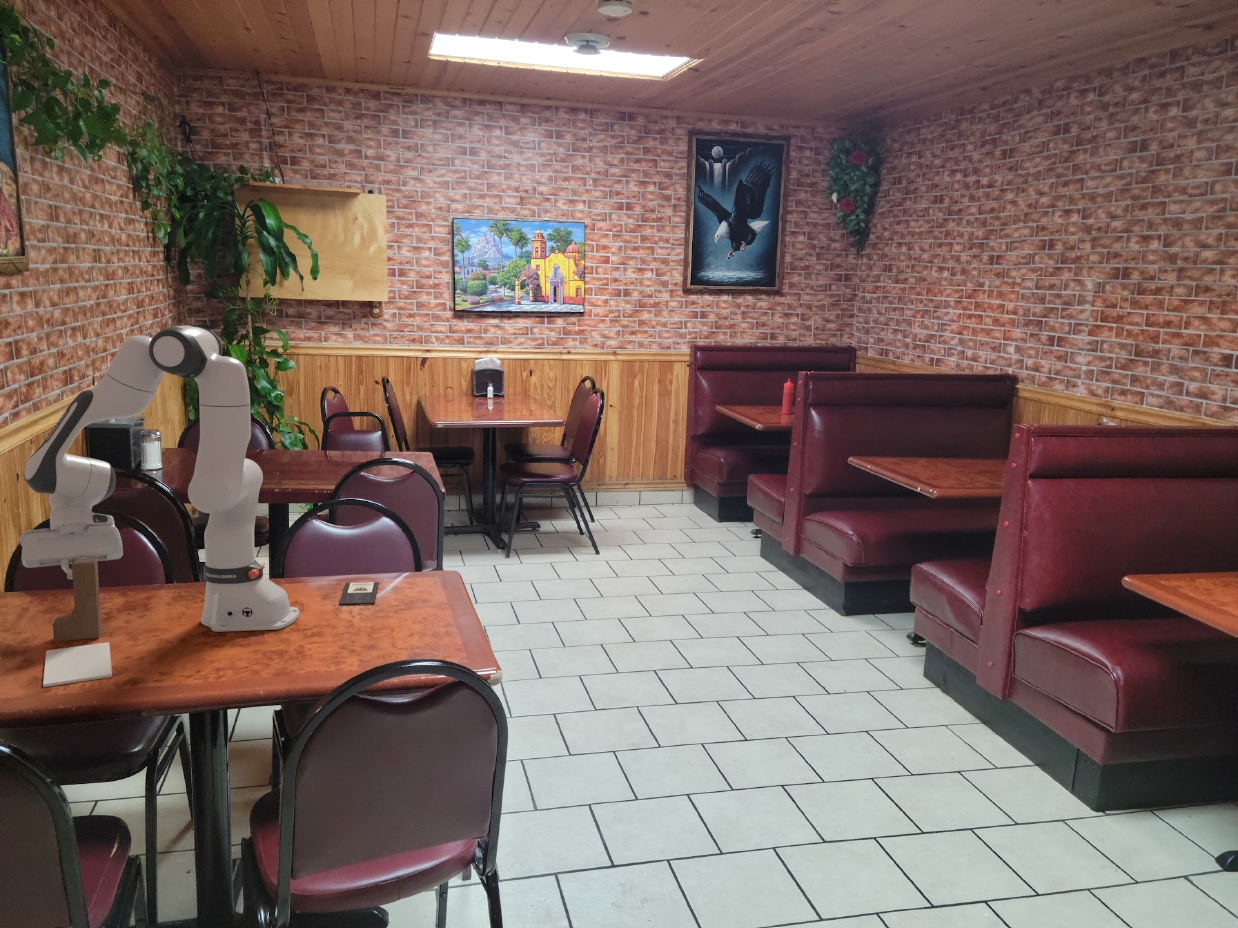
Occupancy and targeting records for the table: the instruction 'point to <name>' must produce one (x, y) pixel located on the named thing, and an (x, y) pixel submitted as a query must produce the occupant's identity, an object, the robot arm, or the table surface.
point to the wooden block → (82, 605)
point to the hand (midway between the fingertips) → (74, 577)
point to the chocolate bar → (359, 593)
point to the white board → (77, 664)
